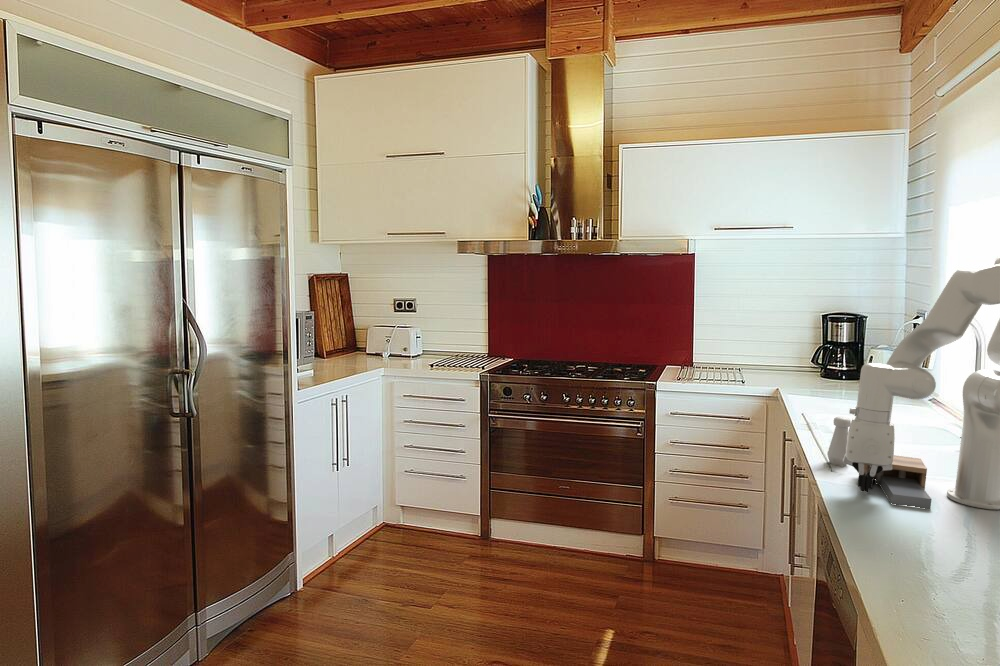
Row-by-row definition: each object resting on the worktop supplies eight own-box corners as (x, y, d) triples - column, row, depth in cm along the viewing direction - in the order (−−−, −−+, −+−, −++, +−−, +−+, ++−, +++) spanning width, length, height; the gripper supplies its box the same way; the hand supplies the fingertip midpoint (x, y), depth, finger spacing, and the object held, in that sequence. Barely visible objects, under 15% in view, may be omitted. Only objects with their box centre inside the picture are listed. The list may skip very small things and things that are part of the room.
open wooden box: (858, 476, 200) (861, 451, 199) (917, 484, 195) (920, 458, 194) (861, 487, 190) (864, 460, 190) (923, 496, 186) (927, 468, 185)
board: (879, 486, 193) (880, 475, 193) (915, 491, 191) (916, 479, 191) (891, 506, 178) (892, 494, 178) (930, 511, 176) (931, 499, 175)
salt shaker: (850, 468, 207) (855, 421, 206) (827, 465, 209) (832, 418, 208) (848, 462, 213) (852, 416, 211) (825, 459, 215) (830, 414, 213)
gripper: (840, 414, 181) (831, 489, 184) (910, 423, 176) (901, 500, 178) (838, 408, 188) (829, 481, 191) (906, 417, 183) (896, 491, 185)
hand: (864, 490), depth 185 cm, fingers closed
